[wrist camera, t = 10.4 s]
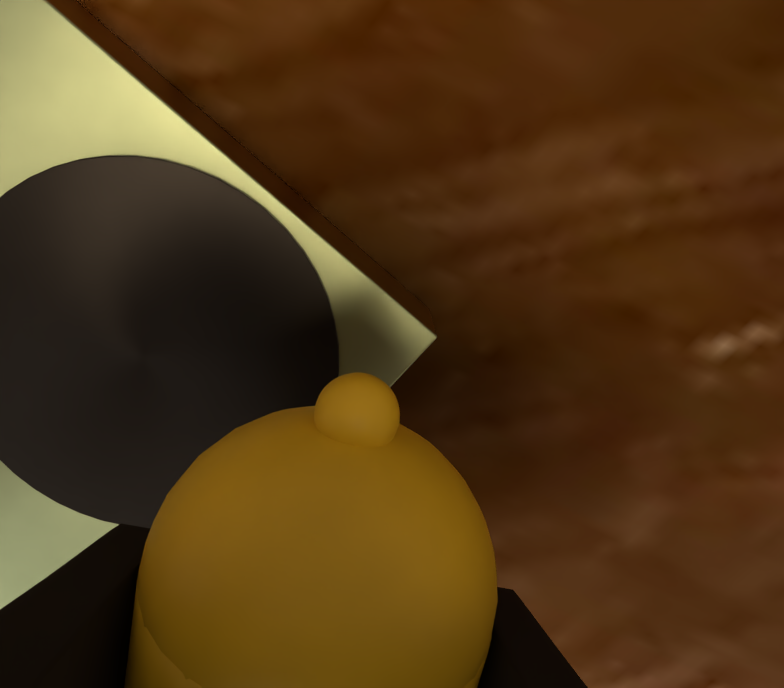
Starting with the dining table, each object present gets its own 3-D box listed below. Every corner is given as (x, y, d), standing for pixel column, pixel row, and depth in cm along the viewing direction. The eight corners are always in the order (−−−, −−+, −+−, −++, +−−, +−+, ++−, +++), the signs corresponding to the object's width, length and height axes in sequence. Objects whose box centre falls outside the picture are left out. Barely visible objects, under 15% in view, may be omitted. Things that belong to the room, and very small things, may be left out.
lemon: (399, 761, 12) (411, 1084, 8) (155, 725, 12) (37, 1046, 8) (513, 352, 10) (611, 513, 6) (216, 292, 10) (93, 418, 6)
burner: (187, 586, 17) (184, 591, 16) (-128, 372, 15) (-135, 375, 15) (419, 338, 15) (419, 341, 15) (93, 61, 13) (89, 59, 13)
